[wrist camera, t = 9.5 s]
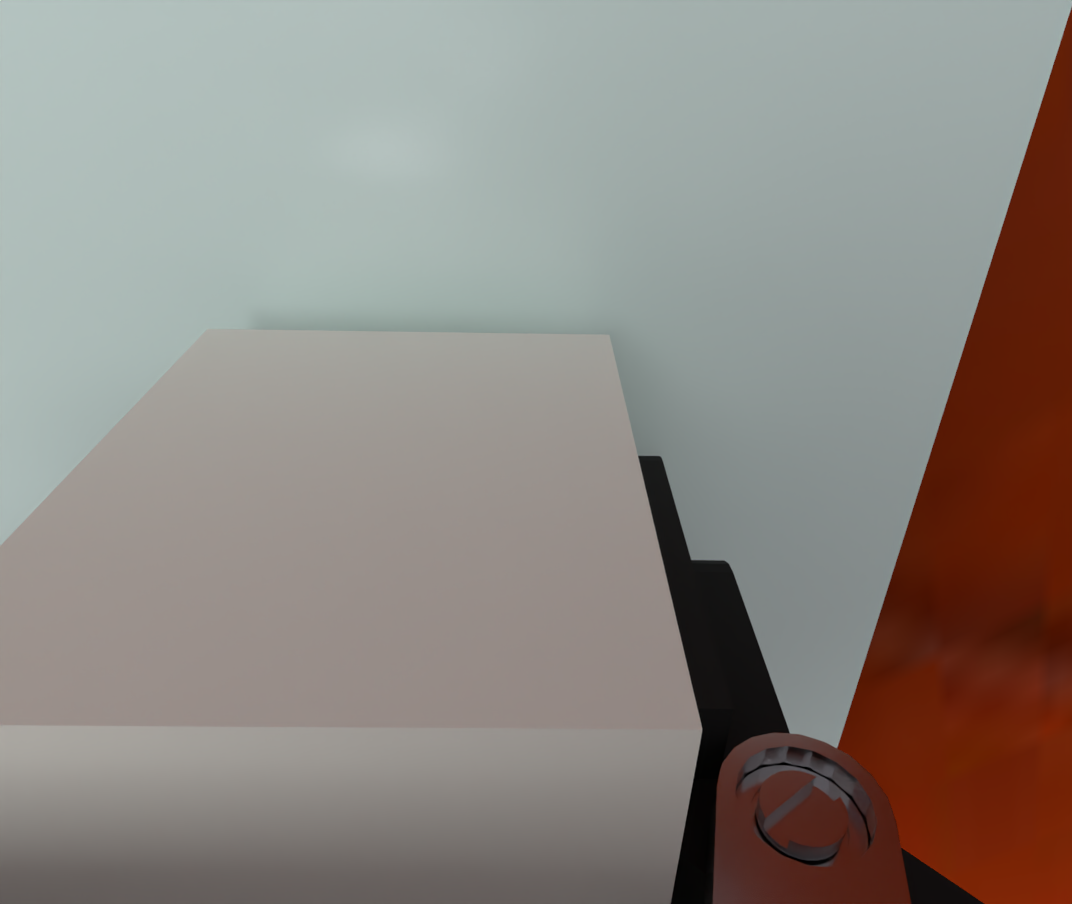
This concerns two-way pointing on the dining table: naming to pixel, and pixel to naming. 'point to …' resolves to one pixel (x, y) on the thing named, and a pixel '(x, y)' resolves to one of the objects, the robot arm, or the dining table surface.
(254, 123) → the seafoam tile
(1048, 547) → the dining table surface
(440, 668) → the cream block
